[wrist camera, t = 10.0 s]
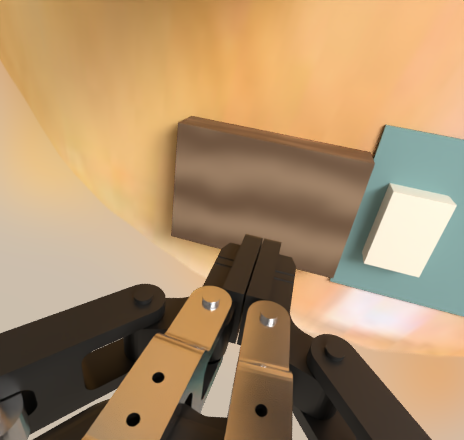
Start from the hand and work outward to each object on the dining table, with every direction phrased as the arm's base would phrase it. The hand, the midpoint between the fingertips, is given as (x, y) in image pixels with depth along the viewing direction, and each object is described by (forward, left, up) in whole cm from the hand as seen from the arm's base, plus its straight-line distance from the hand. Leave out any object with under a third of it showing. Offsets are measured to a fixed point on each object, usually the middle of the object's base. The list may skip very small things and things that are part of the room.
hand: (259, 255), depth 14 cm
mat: (+8, +17, -26) cm, 32 cm away
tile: (+8, +13, -23) cm, 28 cm away
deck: (+8, -2, -26) cm, 27 cm away
